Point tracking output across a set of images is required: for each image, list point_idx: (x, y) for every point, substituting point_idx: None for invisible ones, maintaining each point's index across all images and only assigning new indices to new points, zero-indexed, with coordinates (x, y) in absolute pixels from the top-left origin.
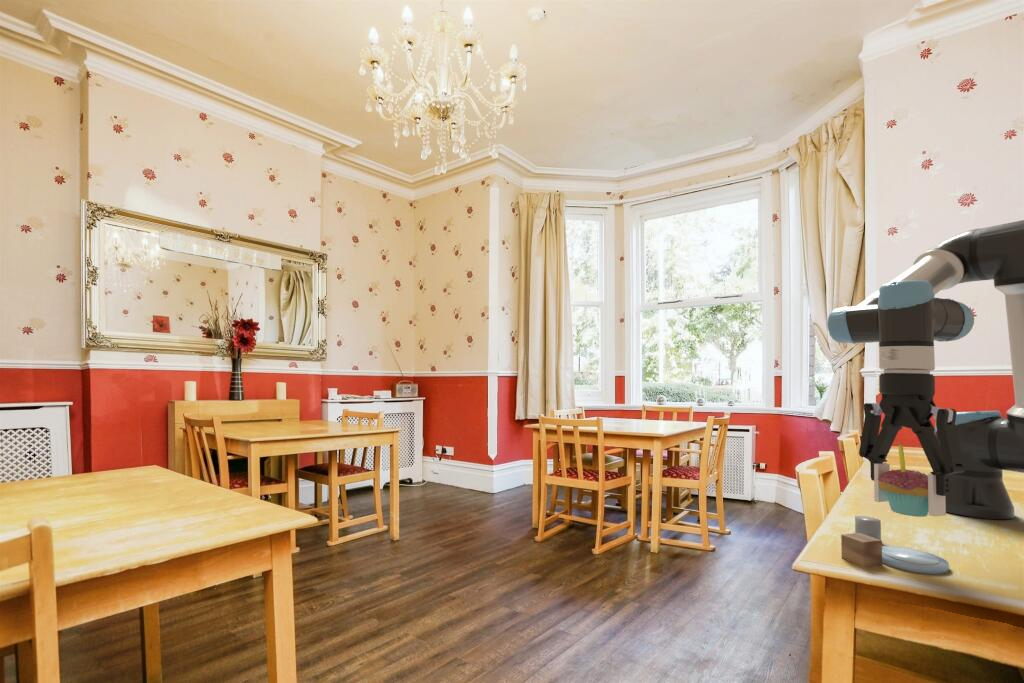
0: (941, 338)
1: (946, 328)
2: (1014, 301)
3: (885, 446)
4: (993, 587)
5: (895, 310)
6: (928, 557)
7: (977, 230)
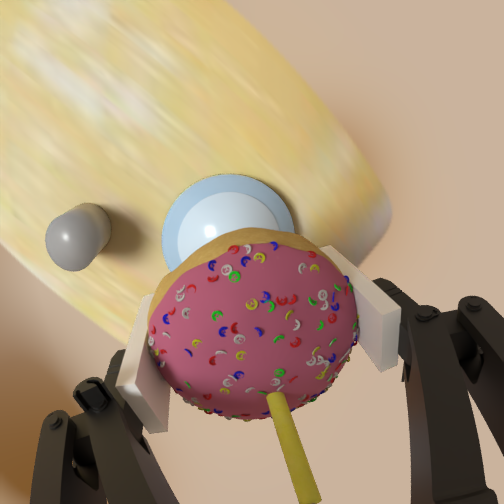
0: None
1: None
2: None
3: (162, 487)
4: (349, 181)
5: None
6: (245, 212)
7: None
